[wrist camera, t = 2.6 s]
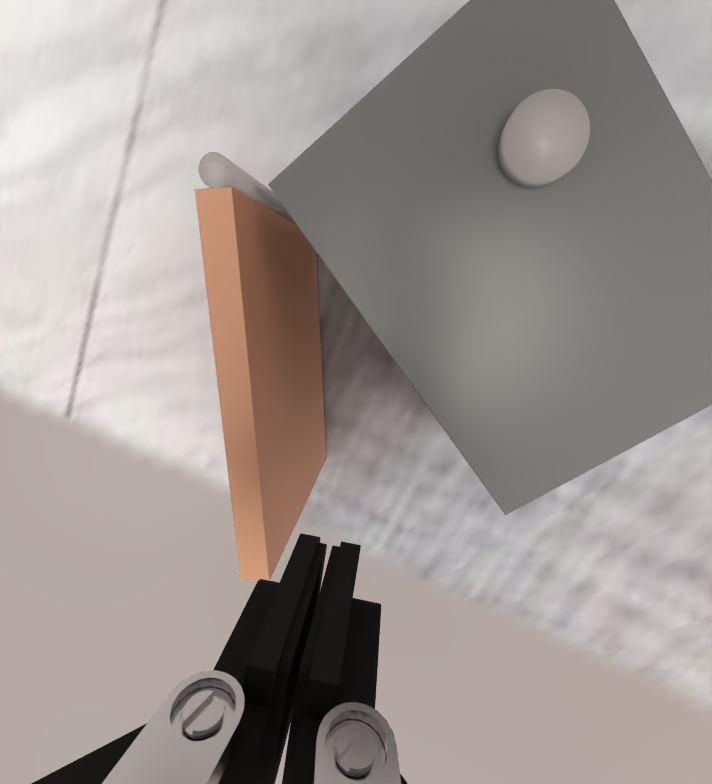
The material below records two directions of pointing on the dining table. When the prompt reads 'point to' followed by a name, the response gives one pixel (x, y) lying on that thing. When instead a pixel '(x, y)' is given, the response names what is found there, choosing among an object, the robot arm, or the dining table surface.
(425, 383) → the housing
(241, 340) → the door
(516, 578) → the dining table surface
